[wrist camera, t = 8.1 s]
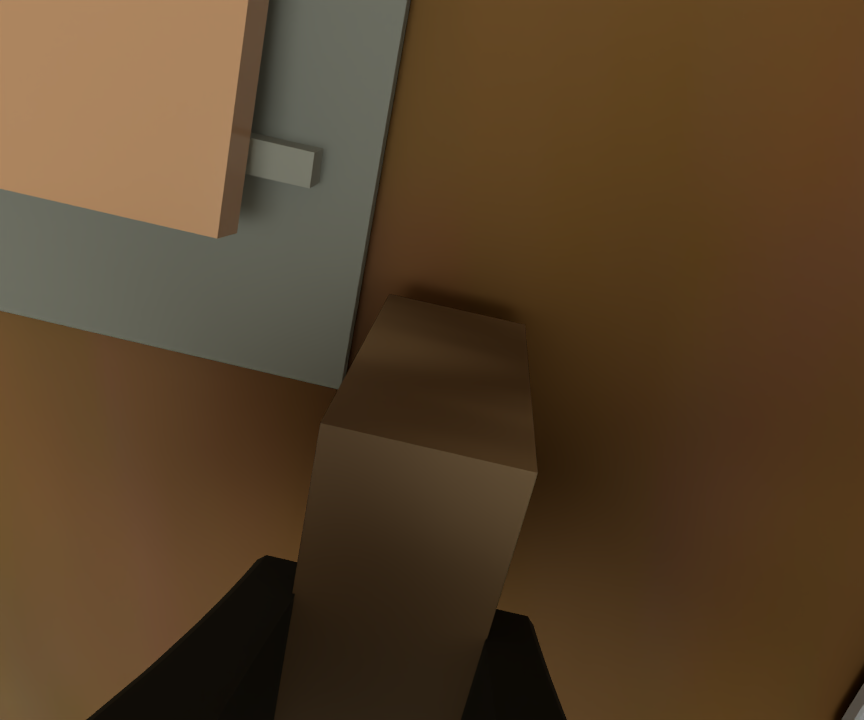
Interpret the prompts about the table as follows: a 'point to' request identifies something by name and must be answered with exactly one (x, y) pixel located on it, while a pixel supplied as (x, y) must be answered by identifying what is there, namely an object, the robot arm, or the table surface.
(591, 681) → the table surface
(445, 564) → the bar
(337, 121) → the mat
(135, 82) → the tile
